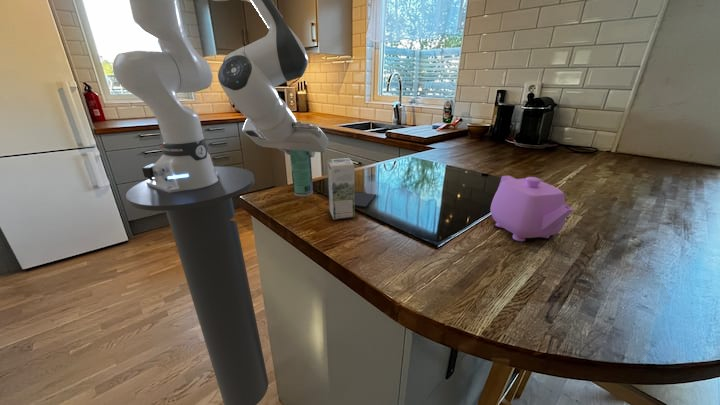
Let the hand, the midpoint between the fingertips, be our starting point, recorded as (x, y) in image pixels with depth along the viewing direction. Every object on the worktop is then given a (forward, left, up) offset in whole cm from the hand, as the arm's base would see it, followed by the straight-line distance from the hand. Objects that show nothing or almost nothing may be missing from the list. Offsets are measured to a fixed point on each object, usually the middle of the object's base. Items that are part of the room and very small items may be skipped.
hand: (301, 153), depth 82 cm
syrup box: (+14, -6, -14) cm, 21 cm away
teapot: (+57, 0, -14) cm, 59 cm away
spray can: (0, -1, -12) cm, 12 cm away
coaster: (+14, +5, -14) cm, 20 cm away
